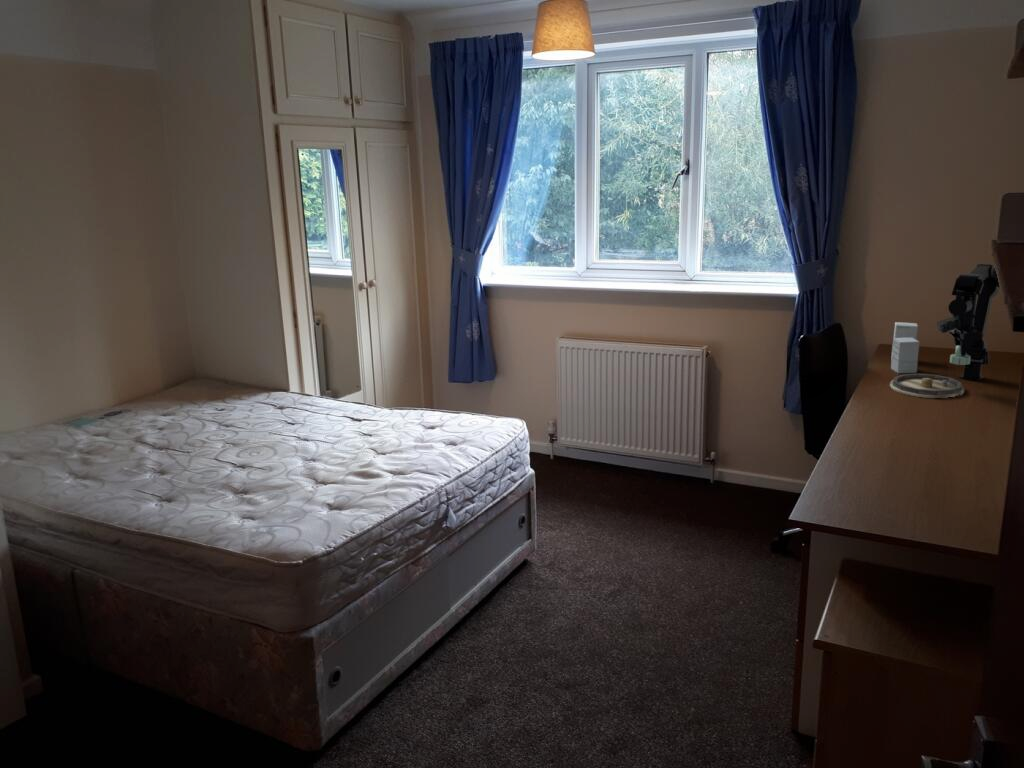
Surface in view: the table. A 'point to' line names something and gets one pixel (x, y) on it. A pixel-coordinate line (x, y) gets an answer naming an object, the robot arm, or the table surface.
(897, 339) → the supplement box
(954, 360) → the pale green domed piece
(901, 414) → the table surface
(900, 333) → the skincare box
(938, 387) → the carrier plate
